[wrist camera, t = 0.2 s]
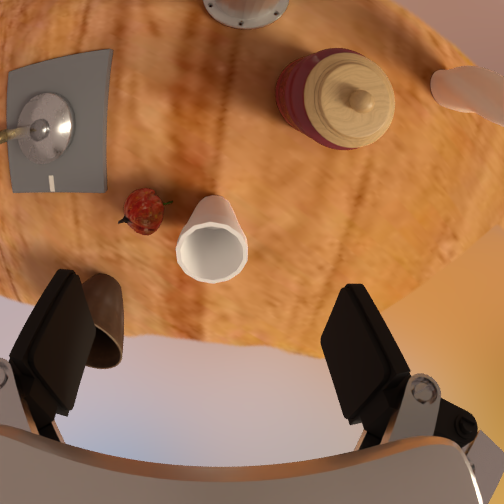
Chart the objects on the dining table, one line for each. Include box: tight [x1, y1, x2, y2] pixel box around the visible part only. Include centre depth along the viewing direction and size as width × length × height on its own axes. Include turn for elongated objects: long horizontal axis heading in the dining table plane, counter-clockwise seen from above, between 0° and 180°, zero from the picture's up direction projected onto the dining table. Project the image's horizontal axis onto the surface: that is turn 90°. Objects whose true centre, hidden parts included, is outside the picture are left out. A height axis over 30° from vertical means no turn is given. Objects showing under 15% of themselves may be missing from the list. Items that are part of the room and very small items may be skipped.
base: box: [7, 49, 113, 193], centre depth 34 cm, size 24×22×2 cm
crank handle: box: [0, 93, 76, 164], centre depth 29 cm, size 16×12×9 cm
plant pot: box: [82, 274, 124, 369], centre depth 47 cm, size 15×15×16 cm
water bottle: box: [430, 66, 504, 127], centre depth 24 cm, size 10×9×28 cm
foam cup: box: [176, 195, 248, 283], centre depth 42 cm, size 10×9×13 cm
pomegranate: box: [118, 188, 173, 235], centre depth 42 cm, size 7×7×10 cm
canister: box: [275, 48, 395, 150], centre depth 30 cm, size 13×13×18 cm
